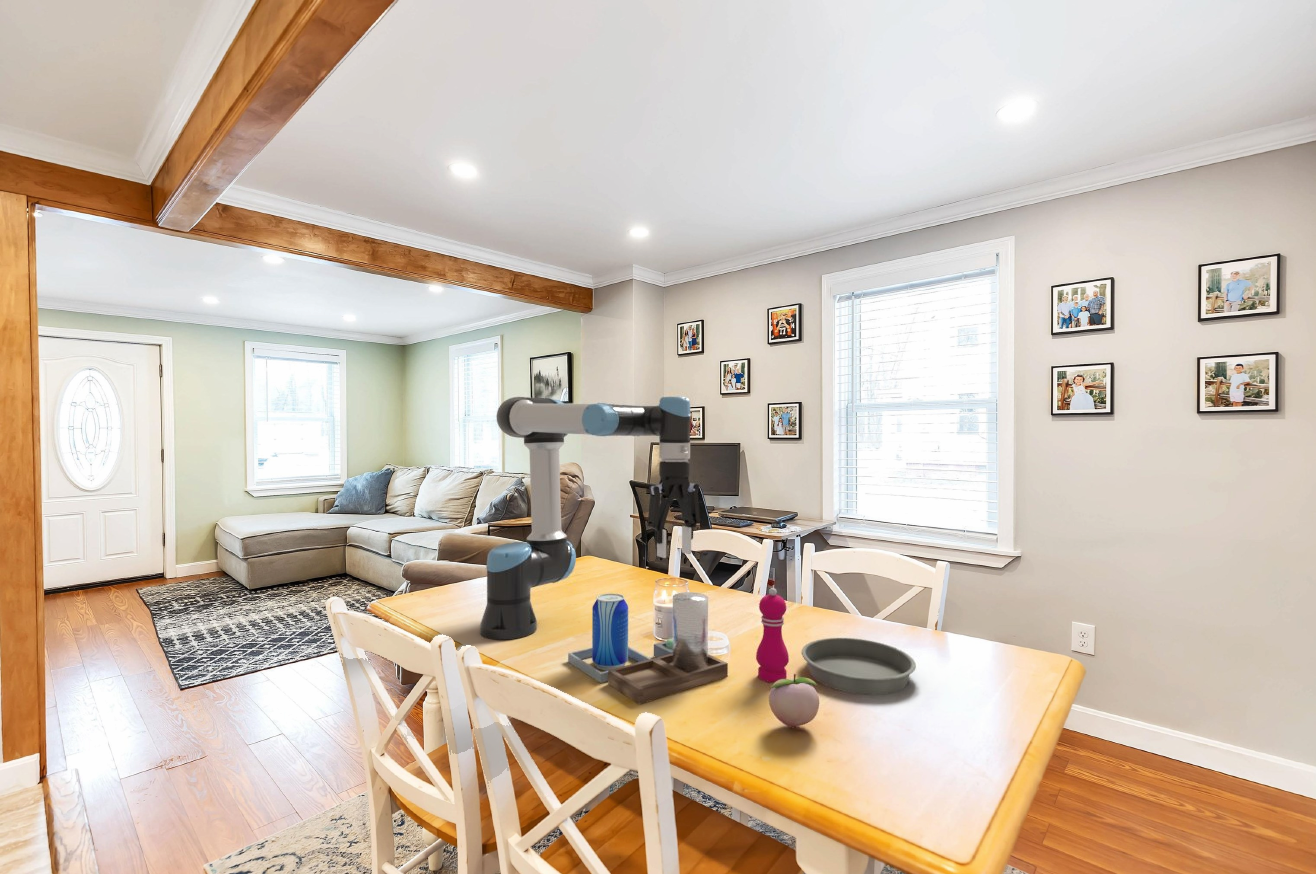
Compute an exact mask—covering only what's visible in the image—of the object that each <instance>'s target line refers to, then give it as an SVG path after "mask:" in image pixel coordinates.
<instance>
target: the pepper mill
mask: <svg viewBox="0 0 1316 874" xmlns="http://www.w3.org/2000/svg"><path fill="white" fill-rule="evenodd" d="M758 606H759V607H758V608H759V611H760V613H761V614H762V615H761V617H760V618H761V621H760V622H761V624H762V627H763V632H762V633H763V634H762V638H761V640H760V643H759V645H758V647H757V649H756V653H755V660H756V662H757V664H758V665H759V667H758V669H757V670H758V671H757V673H758V675H757V676H758V678H759V679H760V680H762V681H764V682H767V683H773V684H774V683H775V682H776V681H778V680H780V679H788V678H787V672H788V671H787V669H786V666H787V665H789V664H788V663H789V661H790V659H789V656H790V655H789V652H788V649H787V646H786V644H785V642H784V639H783V634H782V628H783V625H784V624H785V621H784V620H785V617H784V615H785V614H786V611H787V603H786V601H785V599H784V598H783V597H782V596H780V595H777V589H776V588H774V587H772V588H769V590H768V594H766V595H764V596H763V597H762V598H761V599H760V600H759V604H758Z"/></svg>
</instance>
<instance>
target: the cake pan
mask: <svg viewBox="0 0 1316 874" xmlns="http://www.w3.org/2000/svg"><path fill="white" fill-rule="evenodd" d="M801 655H802V657H803V659H804V660H805V662H806V664H807V668H808V672H809V674H810V676H811V677H812V678H814V680H816V681H817V682H819V683H820V684H822V685H825V686H827V687H830V688H832V689H836V690H839V691H843V692H848V693H854V694H859V695H861V694H862V695H885V694H892V693H896V692H899V691H901V690H903V689H904V688H905V687H906V686H907V684H908V682H909V678H910V675H911V674H913V672H915V670H916V668H917V664H916V661H915V660H914V658H913V657H912V656H911V655H909V654H908V653H906V652H905V651H903V650H902V649H899V648H896V647H895V646H892V645H888V644H885V643H881V642H877V641H873V640H868V639H862V638H853V637H830V638H829V637H828V638H821V639H817V640H814V641H810V642H808V643H807V644H805V645H804V646H803V647H802V648H801Z"/></svg>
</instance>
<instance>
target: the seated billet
mask: <svg viewBox="0 0 1316 874" xmlns="http://www.w3.org/2000/svg"><path fill="white" fill-rule="evenodd" d="M672 638H673V656H672V666H674V667H676V668H678V669H680V670H682V671H684V672H686V673H688V672H692V671H695V670H699V669H702V668H705V667H708V654H709V596H708V595H707V594H704V593H701V592H700V593H699V592H692V591H691V592H689V591H688V592H687V591H686V592H680V593H679V592H678V593H675V594H673V595H672Z"/></svg>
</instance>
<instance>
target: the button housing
mask: <svg viewBox="0 0 1316 874" xmlns="http://www.w3.org/2000/svg"><path fill="white" fill-rule="evenodd" d="M672 653H673V650H671V649H669V648H667V647H666V640H665V641H660V642H657V643H653V657H654V656H655V657H654V658H656V657H660V656H664V655H668V654H672Z"/></svg>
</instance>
